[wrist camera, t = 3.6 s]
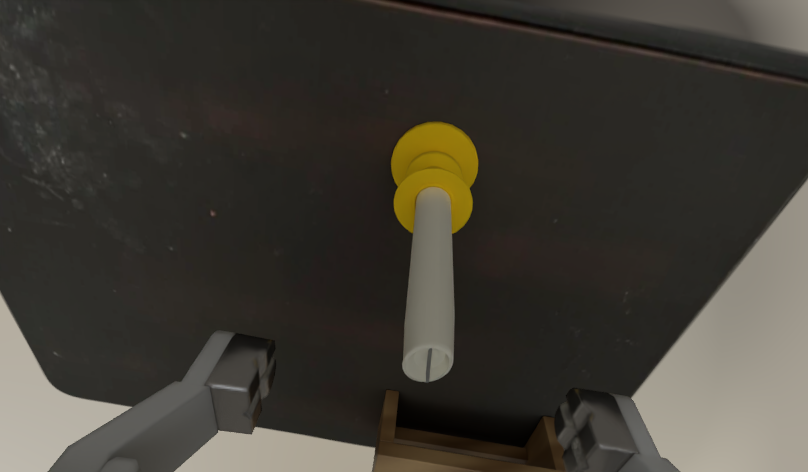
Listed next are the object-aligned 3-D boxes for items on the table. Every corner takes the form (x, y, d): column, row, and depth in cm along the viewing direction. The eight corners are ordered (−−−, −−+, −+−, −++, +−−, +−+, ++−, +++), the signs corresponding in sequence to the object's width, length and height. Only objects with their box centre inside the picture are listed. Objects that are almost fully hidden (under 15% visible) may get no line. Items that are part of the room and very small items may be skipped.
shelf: (555, 417, 36) (574, 487, 31) (533, 451, 39) (547, 519, 34) (386, 389, 36) (377, 454, 31) (378, 425, 39) (369, 490, 34)
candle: (459, 106, 22) (489, 286, 8) (489, 184, 24) (548, 419, 11) (377, 142, 23) (294, 342, 10) (412, 212, 25) (383, 449, 12)
